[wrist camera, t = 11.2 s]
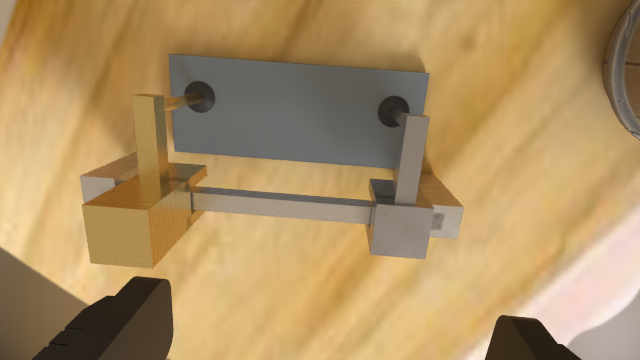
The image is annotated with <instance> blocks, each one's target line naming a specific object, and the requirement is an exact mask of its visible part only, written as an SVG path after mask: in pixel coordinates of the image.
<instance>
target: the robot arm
mask: <svg viewBox="0 0 640 360" xmlns="http://www.w3.org/2000/svg"><path fill="white" fill-rule="evenodd" d="M172 339H173V314H172V298H171V285H170V282H169V281H168V280H167V279H159V278H149V277H139V276H136V277H133V278H132V279H131V280H130V281H129V282H128V283H127V284H126V285H125V286H124V287H123V288H122V289H121V290H120V291H119V292H118V293H117V294H116V295H115V296H106V297H104V298H102V299H101V300H99V301H97V302H95V303H94V304H92V305H90V306H88V307H87V308H85V309H83V311H81V313H79V314H78V315H77V316H76V317H75V318H74V319H73V320H72V321H71V322H70V323H69V324H68V325H67V326H66V327H65V330H64V331H61V332H60V333H59V334H58V335H57V336H56V337H55V338H54V339H52V340H51V341H50V342H49V346H48V347H44V348H43V349H42V350H41V351H40V352H39V353H38V354H37V355H36V356H35V357H34V358H33V359H32V360H165V359H166V357H167V355H168V353H169V350H170V347H171V343H172ZM485 360H581V359H580V358H579V357H578V356H576V355H575V354H574V353H572V352H571V351H570V350H569V349H568V348H566V347H565V346H564V345H563V344H557V342H556V341H555V340H554V338H553V337H552V336H551V335H550V333H549V332H548V331H547V329H546V328H545V327H544V326H543V324H542V323H541V322H540V321H539V320H537V319H535V318H526V317H516V316H507V315H502V316H500V317H499V318H498V319H497V322H496V324H495V328H494V331H493V334H492V338H491V341H490V344H489V347H488V351H487V354H486V357H485Z"/></svg>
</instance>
